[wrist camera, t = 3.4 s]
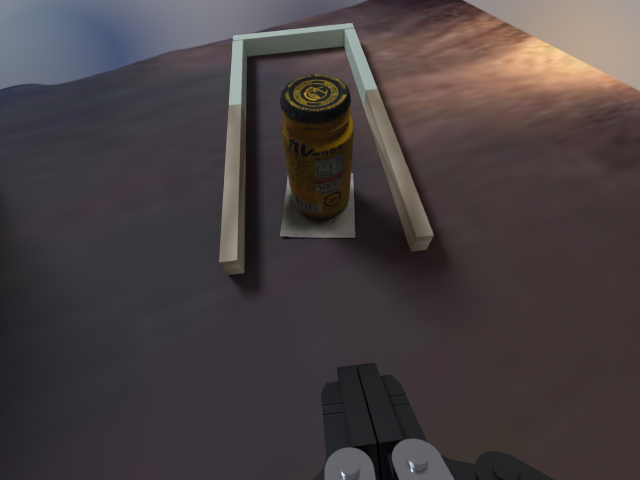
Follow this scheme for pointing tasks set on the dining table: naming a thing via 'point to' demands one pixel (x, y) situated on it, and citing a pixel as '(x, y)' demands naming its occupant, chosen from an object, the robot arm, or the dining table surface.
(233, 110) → the wooden guide rails
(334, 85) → the condiment
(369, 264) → the dining table surface
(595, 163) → the dining table surface
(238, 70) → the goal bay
